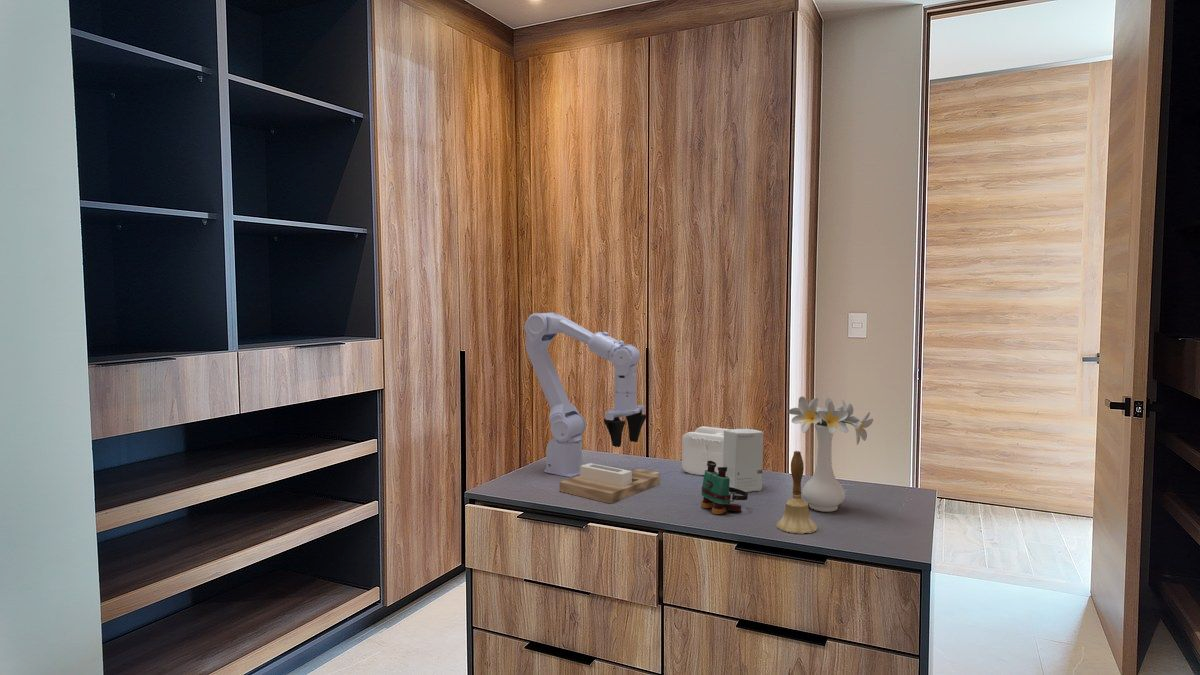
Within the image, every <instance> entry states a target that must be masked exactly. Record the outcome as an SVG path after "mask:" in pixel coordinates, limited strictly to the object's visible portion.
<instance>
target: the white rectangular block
mask: <svg viewBox="0 0 1200 675" xmlns="http://www.w3.org/2000/svg"><path fill="white" fill-rule="evenodd" d="M613 467H614V466H610V467H608V466H607V465H602V464H598V463H597V464H596V463H592V462H588V463H586V464H582V466H580V475H579V476H580V478H583V479H588V480H593V481H597V482H602V483H607V484H611V485H616V486H621V487H623V486H626V485H628V484H631V483H632V471H633V470H631V471H629V470H630V469H626V470H624V469H625V468H621V469H618V468H619V467H616V468H613Z"/></svg>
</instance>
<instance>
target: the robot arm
mask: <svg viewBox="0 0 1200 675" xmlns="http://www.w3.org/2000/svg"><path fill="white" fill-rule="evenodd" d="M523 329H524V332H525V350H526V353H527V355H528V358H529V360H530V364H531V365H532V368H533V371H534V373H535V375H536V377H537V379H538V382H539V385H540V387H541V389H542V392H543V394H544V397H545V399H546V401H547V403H548V406H549V408H550V412H549V416H548V419H549V423H550V434H551V435H552V437H553V438H551V439H549V441H548V442H547V444H546V448H545V449H546V450H545V454H546V455H545V465H546V466H545V467H546V468H545V469H544V473H547V474H553V475H557V476H561V477H567V478H573V477H577V476H580V466H582V465H583V455H582V454H583V434H584V432H585V431H586V428H587V422H586V420H585V417H584V416H583V415H582V414H580V412H579V410H578V409H577V407H576V406H575V405H574V404H573V403H571V402H570V400H569V398H568V396H567V393H566V391H565V388H564V386H563V384H562V382H561V379H560V377H559V374H558V372H557V370H556V367H555V365H554V362H553V360H552V357H551V354H550V352H549V350H548V349H549V346H550V344H551V342H552V341H553V339H554V338H555V337H556V336H557V335H558V334H564V335H567V336H568V337H570V338H572V339H575V340H577V341H579V342H582V343H583V344H586V345H588V349H589V351H590V352H591V353H593V354H596V355H597V356H600V357H601V358H603V359H605V360H607V361H609V362H611V364H612V365H613V367H614V408H612V409H610V410H608V411H605V415H604V416H605V417H604V419H603V423H604V425H605V427H606V429H607V431H608V432H609V433H608V434H609V437H610V441H611V445H612V447H616V448H620V447H621V445H622V442H623V441H622V439H623V437H622V436H623V430H624V428H625V424H626V421H627V426H628V438H629V442H633V443H638V441H639V438H640V434H641V431H642V430H641V429H642V427H643V426H644V423H645V421H646V419H647V414H645V405H642V404H638V402H637V391H638V388H637V386H638V384H637V383H638V382H637V381H638V372H637V371H638V370H637V369H638V368H637V365H638V363H639V362H640V359H641V354H640V353H641V352H640V351H639V349H638V348H637V347H636V346H634V344H631V343H629V344H625V341H623V340H617V339H616V338H613V337H612V336H610V333H609V332H607V331H603V332H601V331H597V332H595V333H593V332H592V331H590V330H588V329H586V328H584V327H583V326H581V325H580V324H577V323H576V322H574V321H572V320H570V319H569V318H567V317H565V316H564V315H560V314H558V313H556V312H554V311H553V312H552V311H549V312H541V313H540V312H534V313H531V314H530V315H529V316H528V317H527V319H526V321H525V324H524V326H523ZM637 404H638V405H637ZM621 418H625V419H626V421H625V420H621Z"/></svg>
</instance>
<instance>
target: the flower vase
mask: <svg viewBox="0 0 1200 675" xmlns="http://www.w3.org/2000/svg"><path fill="white" fill-rule="evenodd" d="M818 401H819V398H818V397H815V398H813V399H811V400H810V402H808V400H807V398H806V397H805V396H800V397H799V398H798V407H792V408H790V409H789V410H788V412H787V413H788V414H790V415H793V417H792V418H791V423H793V424H795V425H796V424H802V425H801V427H800V428H801V432H802V433H806V432H808V430H809V428H810V426H811V425H812V424H814V428H815V430H816V436H817V454H816V455H817V456H816V466H815V470H814V473H813V474H812V476H811V478H810V479H809V480H807V482H806V483H805V484H804V486H803V488H802V489H801V495H802V496H803V498H804V501H806V502H807V503H808V508H810V509H812V510H813V509H814V511H819V512H823V513H825V512H826V513H827V512H829V513H831V512H832V513H833V512H836V511H837V510H838V506H839V505H841V504H842V503H843V502H844V501H845V498H846V491H845V489H844V488H843V486H842V485H841V483H840V482H839V480H837V478H836V476H835V474H834V470H833V465H832V464H833V462H832V461H833V458H832V456H833V455H832V444H833V443H832V442H833V437H834V433H835V432H836V429H838V430H839V431H841V432H843V433H845V434H846V433H849V432H850V431H849V428H848V426H847V425H851V426H853V427H854V430H855V435H856V436H855V437H856V446H858V445H859V443H860V440H861V439H862V440H863V441H864V442H865V441H867V439H868V438H867V437H868V434H867V433H868V432H867V431H866V429H865V428H869V427H870V426H871V425H872V424H873V422H874V418H869V417H870V414H871V412H870V411H869V412H868V413H866V414H865V416H863V417H862V418H861V419H859V418H858V417H857V416H855V415H854V407H853V404H852V403H850V402H849V403H848V405H847V404H846V402H845V400H844V399H842V405H839V406H836V407H835V405H834V402H833V400H832V398H831V397H826V398H825V401H824V406H825V407H824V408H823V407H819V402H818Z"/></svg>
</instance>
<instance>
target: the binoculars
mask: <svg viewBox="0 0 1200 675" xmlns="http://www.w3.org/2000/svg"><path fill="white" fill-rule="evenodd" d="M707 466H708V470H705V473H704V475H703V480H702V486H701V496H702V497H703V498H702V499H703V500H702V501H701V502H700V507H701V508H703V509H709V508H710V509H711V514H713V515H721V514H724V513H725V511H733V512H741V511H742V505H740V504H737V503H736V504H735V503H734V501H747V500H748V498H749V492H745V491H742V490H739V489H736V488H732V487H729V485H730V478H729V477H727V476H725V475H726V471H727V467H718V473H717V472H715V467H716V463H715V462H713V461H707ZM733 492H734V493H733ZM737 494H738V495H737ZM731 495H732V496H731Z"/></svg>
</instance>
